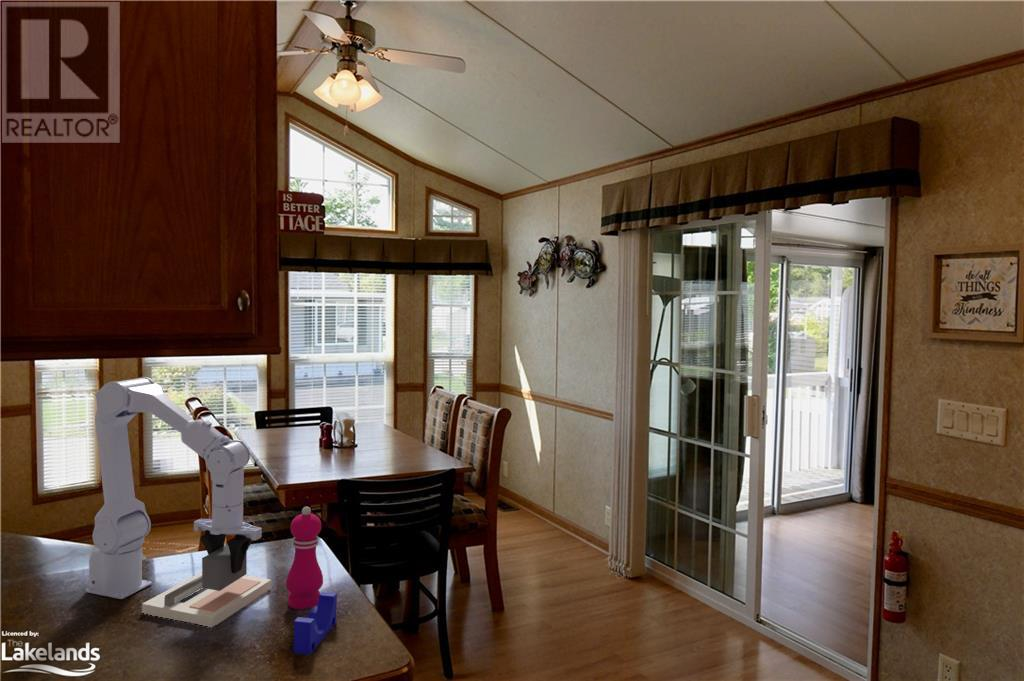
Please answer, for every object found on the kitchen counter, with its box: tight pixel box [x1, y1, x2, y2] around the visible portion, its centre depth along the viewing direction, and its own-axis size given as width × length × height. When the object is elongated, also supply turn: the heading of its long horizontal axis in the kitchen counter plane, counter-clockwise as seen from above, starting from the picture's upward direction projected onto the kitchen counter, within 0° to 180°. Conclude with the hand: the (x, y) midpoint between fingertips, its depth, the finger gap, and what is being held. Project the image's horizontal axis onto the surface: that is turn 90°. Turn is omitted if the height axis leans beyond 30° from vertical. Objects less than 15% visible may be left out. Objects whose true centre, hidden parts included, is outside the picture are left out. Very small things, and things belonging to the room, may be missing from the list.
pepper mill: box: [285, 506, 324, 610], centre depth 136 cm, size 7×7×20 cm
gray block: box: [201, 543, 248, 591], centre depth 134 cm, size 4×8×6 cm, turn 164°
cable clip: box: [293, 591, 338, 656], centre depth 124 cm, size 12×4×6 cm, turn 173°
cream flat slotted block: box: [141, 571, 272, 629], centre depth 136 cm, size 16×18×4 cm
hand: (226, 569), depth 134 cm, fingers closed on gray block, 4 cm apart
